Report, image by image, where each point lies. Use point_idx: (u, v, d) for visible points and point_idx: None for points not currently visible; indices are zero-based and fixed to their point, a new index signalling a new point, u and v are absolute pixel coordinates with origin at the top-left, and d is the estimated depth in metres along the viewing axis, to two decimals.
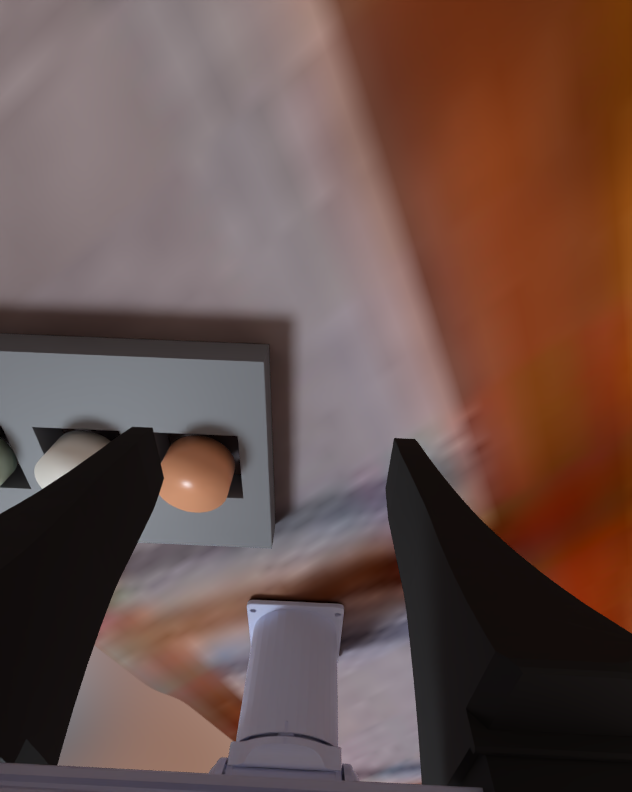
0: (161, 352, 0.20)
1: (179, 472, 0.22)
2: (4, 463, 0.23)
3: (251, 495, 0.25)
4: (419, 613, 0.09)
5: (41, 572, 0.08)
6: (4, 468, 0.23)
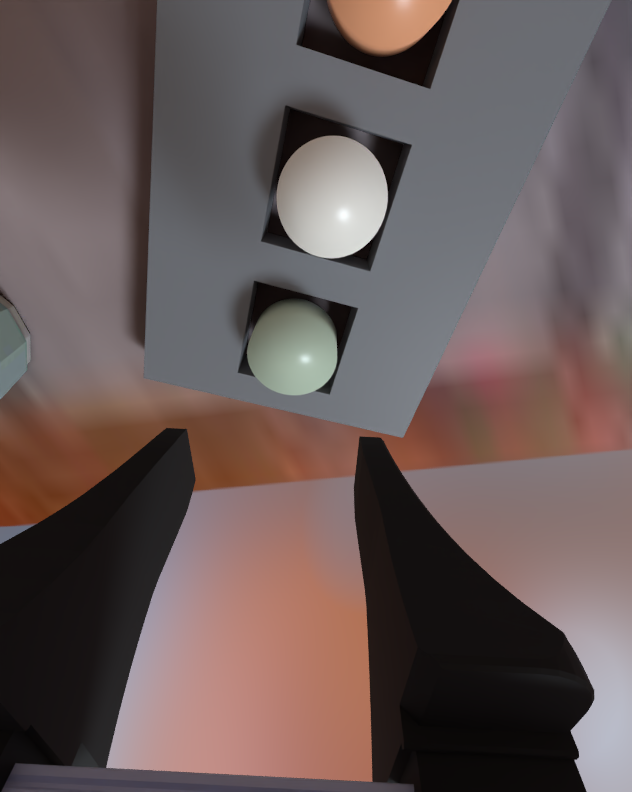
0: None
1: None
2: (302, 306, 0.18)
3: None
4: (374, 611, 0.09)
5: (95, 574, 0.08)
6: (308, 309, 0.18)
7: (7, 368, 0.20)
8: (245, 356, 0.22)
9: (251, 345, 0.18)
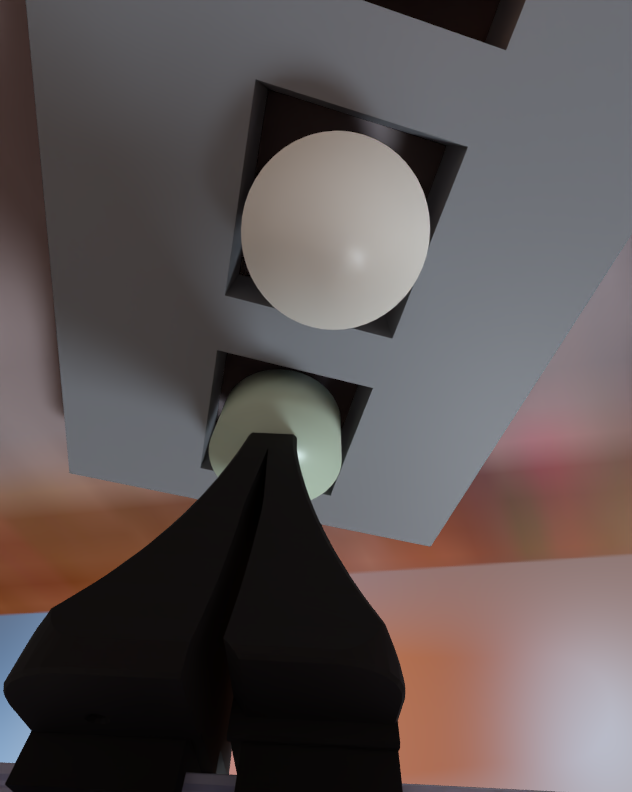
0: None
1: None
2: (290, 384, 0.12)
3: None
4: None
5: (230, 581, 0.07)
6: (299, 390, 0.12)
7: None
8: None
9: (213, 443, 0.12)
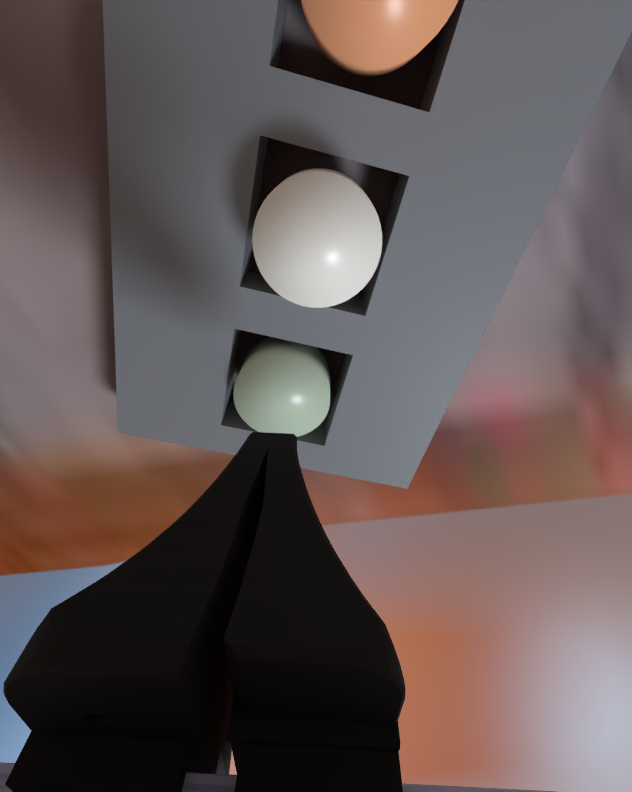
0: None
1: None
2: (292, 345, 0.17)
3: None
4: None
5: (229, 581, 0.07)
6: (298, 348, 0.17)
7: None
8: (231, 403, 0.20)
9: (237, 388, 0.17)
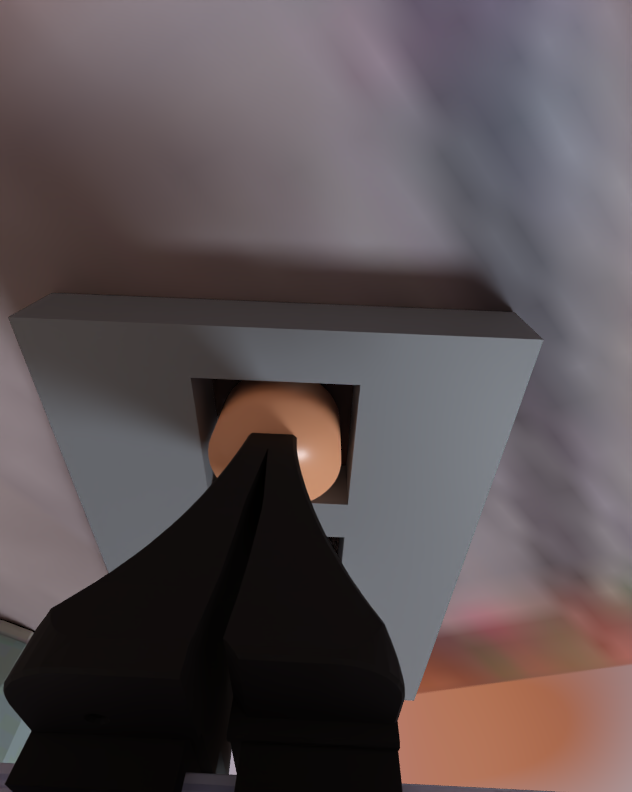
0: None
1: None
2: None
3: (351, 368, 0.11)
4: None
5: (230, 581, 0.07)
6: None
7: None
8: None
9: None
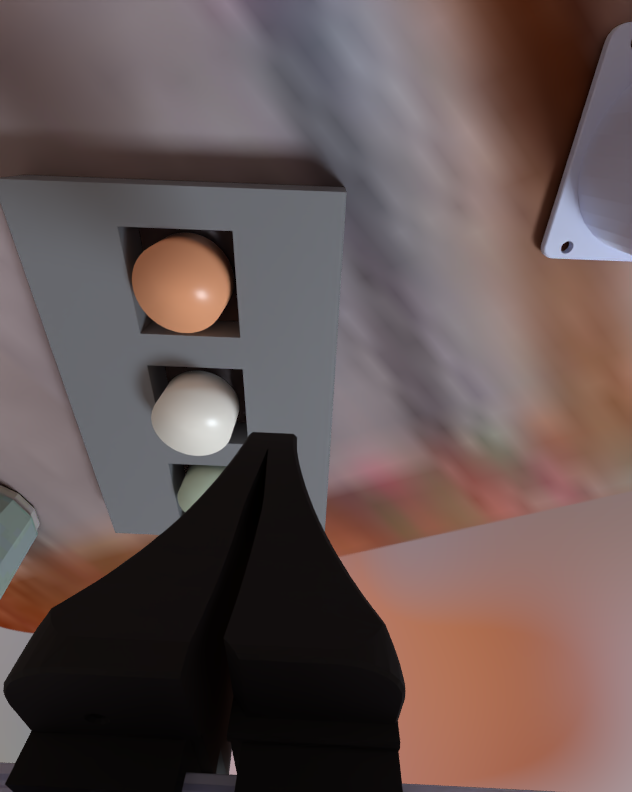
0: None
1: (157, 300, 0.18)
2: None
3: (224, 217, 0.17)
4: None
5: (230, 581, 0.07)
6: (214, 466, 0.24)
7: (19, 545, 0.27)
8: None
9: (179, 499, 0.25)
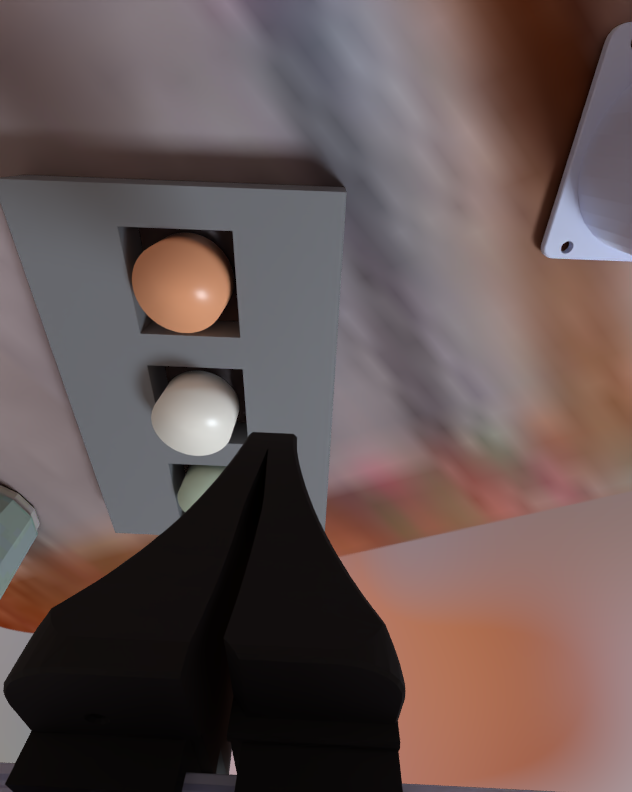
0: None
1: (157, 300, 0.18)
2: None
3: (224, 217, 0.17)
4: None
5: (230, 581, 0.07)
6: (214, 466, 0.24)
7: (19, 545, 0.27)
8: None
9: (179, 499, 0.25)
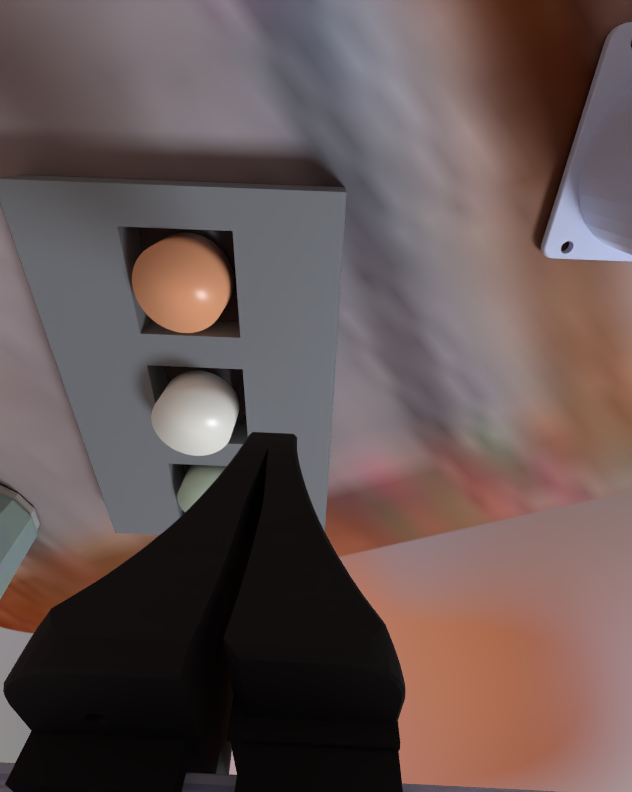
0: None
1: (157, 300, 0.18)
2: None
3: (224, 217, 0.17)
4: None
5: (230, 581, 0.07)
6: (214, 466, 0.24)
7: (19, 545, 0.27)
8: None
9: (179, 499, 0.25)
